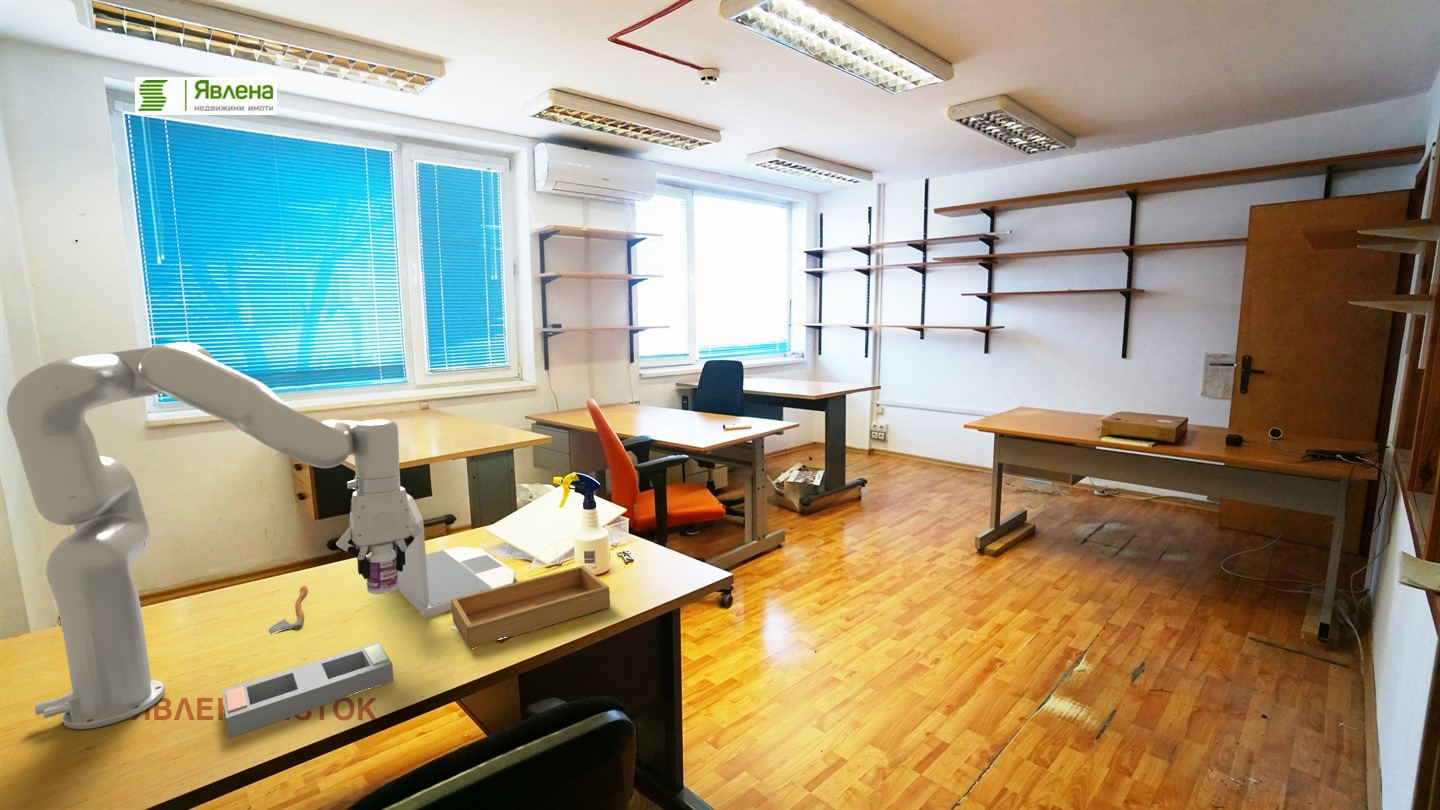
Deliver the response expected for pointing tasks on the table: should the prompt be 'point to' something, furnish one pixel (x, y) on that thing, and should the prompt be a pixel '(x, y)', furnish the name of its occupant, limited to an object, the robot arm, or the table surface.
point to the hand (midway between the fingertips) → (382, 572)
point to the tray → (528, 605)
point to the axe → (299, 622)
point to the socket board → (304, 688)
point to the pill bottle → (382, 569)
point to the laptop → (446, 572)
